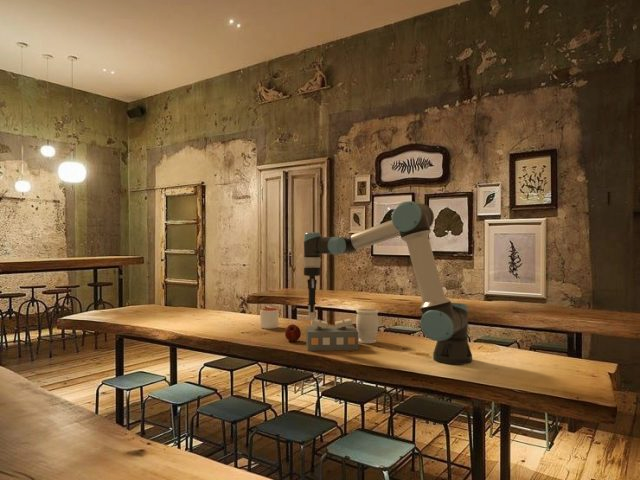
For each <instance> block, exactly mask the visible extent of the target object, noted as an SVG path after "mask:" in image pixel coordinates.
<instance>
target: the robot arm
mask: <svg viewBox="0 0 640 480" xmlns="http://www.w3.org/2000/svg"><path fill="white" fill-rule="evenodd" d="M434 222H435V215H434V212H433V210H432V208H431V207H430V206H429V205H427V204H425V203H421V202H420V203H419V202H415V201H413V200H408V201H403V202H400V203H398V204H397V205H396V206H395V207H394V209H393V211H392V213H391V220H387V221H385V222H383V223H380V224H377V225H374V226H372V227H369V228H366V229H363V230H360V231H358V232H356V233H353V234H349V235H346V236H322V234H321V232H311V231H310V232H305V233H304V234H303V236H304V237H303V266H304V267H303V276H306V277H308V279H307V282H306V283H307V289H308V301H307V302H308V303H307V306H308V320H316V318H315V317H316V304H317V302H316V290H317V279H316V277H319V276H321V262H322V261H323V259H321V255H322V254H323V255H324V254H325V255H341V254H342V255H343V254H344V255H346V254H347V255H350V254H353V253H355V252H357V251H358V250H362V249H365V248H367V247H371V246H373V245H376V244H380V243H382V242H385V241H388V240H391V239H395V238H397V237H400V239H401V241H402V242H403V241H404V242H405V243H406V246H407V248H408V254H409V257H410V261H411V264H412V268H413V271H414V275H415V279H416V281H417V287H418V291H419V294H420V298H421V301H422V304H420V306H419V309H420V312H421V315H422V316H421V318H420V321H419V322H420V323H419V325H420V329H421V331H422V334H423V335H424V336H425V337H426V338H428V339H429V340H431V341H434V342H436V344H435V347H434V350H433V355H432V359H433V361H436V362H438V363H442V364H447V365H468V364H471V363H472V362H473V353H472V351H471V348H470V344H469V340H468V336H469V335H468V331H469V326H468V325H469V323H468V322H469V319H468V318H469V310H468V309H469V308H468V305H467V304H466V303H461V302H460V303H459V302H452V301H451V300H450V299H449V298H447V297H446V296H445V295H446V294H445V291H444V288H443V286H442V282H441V278H440V274H439V271H438V267H437V264H436V259H435V257H434V253H433V249H432V246H431V243H430V239H429V236H430V233H431V230H432V229H431V227H432V225H433V223H434Z"/></svg>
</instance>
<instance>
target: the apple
mask: <svg viewBox="0 0 640 480" xmlns="http://www.w3.org/2000/svg"><path fill="white" fill-rule="evenodd" d="M284 335H285V339H287V341H288V342H297V341H298V340H299V339H300V338H301V335H302V333H301V328H300V327H299V326H298V325H296V324H289V325H288V326H287V327H286V329H285V333H284Z"/></svg>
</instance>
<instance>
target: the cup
mask: <svg viewBox="0 0 640 480" xmlns="http://www.w3.org/2000/svg"><path fill="white" fill-rule="evenodd" d="M259 312H260V314H259V316H260V317H259V321H260V323H259V327H260V328H261V329H265V330H272V329H277V328H278V327H279V324H280V323H279V320H280V319H279V316H280V315H279V313H280V312H279V308H276V307H275V308H273V307H269V308H268V307H266V308H261V309H259Z"/></svg>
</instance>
